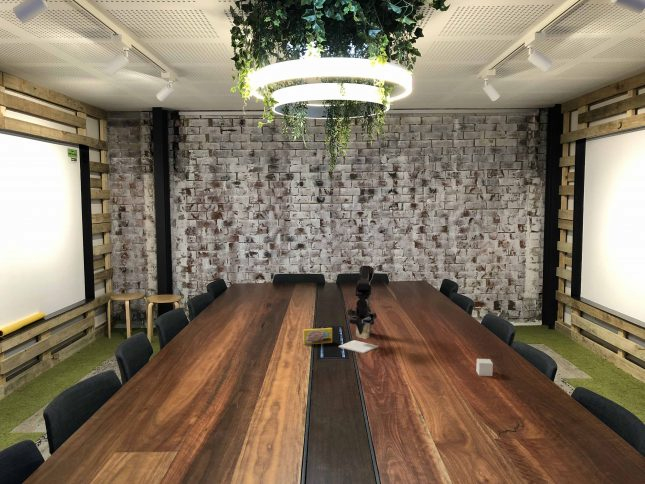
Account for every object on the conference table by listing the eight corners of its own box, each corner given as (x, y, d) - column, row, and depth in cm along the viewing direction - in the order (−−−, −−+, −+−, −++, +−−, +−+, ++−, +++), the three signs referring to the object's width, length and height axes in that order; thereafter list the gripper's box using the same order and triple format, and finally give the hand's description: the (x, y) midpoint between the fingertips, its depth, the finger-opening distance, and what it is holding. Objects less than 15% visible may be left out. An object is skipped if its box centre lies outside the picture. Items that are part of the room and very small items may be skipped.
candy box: (303, 345, 272) (303, 330, 271) (303, 344, 274) (303, 329, 273) (332, 342, 276) (332, 328, 275) (331, 341, 278) (331, 327, 277)
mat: (353, 341, 279) (353, 340, 279) (377, 347, 269) (377, 345, 269) (338, 347, 268) (338, 346, 268) (363, 353, 258) (363, 352, 258)
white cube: (476, 371, 234) (476, 358, 234) (489, 371, 234) (489, 359, 233) (478, 375, 228) (479, 363, 228) (492, 376, 228) (492, 363, 227)
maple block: (360, 335, 275) (360, 321, 274) (369, 337, 271) (369, 322, 270) (355, 336, 272) (356, 322, 271) (365, 338, 268) (365, 324, 267)
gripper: (360, 300, 282) (360, 327, 283) (340, 306, 267) (340, 334, 269) (377, 303, 275) (376, 330, 276) (357, 309, 260) (357, 338, 262)
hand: (362, 333), depth 271 cm, fingers closed on maple block, 4 cm apart
